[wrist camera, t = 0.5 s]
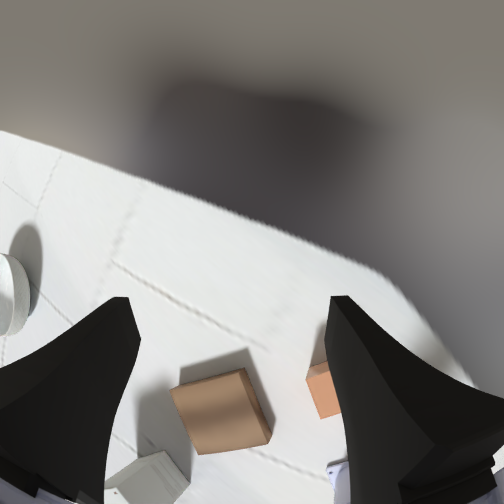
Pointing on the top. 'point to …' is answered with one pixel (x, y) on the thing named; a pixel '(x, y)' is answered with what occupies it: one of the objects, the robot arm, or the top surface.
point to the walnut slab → (221, 413)
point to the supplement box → (146, 482)
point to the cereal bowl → (13, 295)
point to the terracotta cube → (323, 390)
